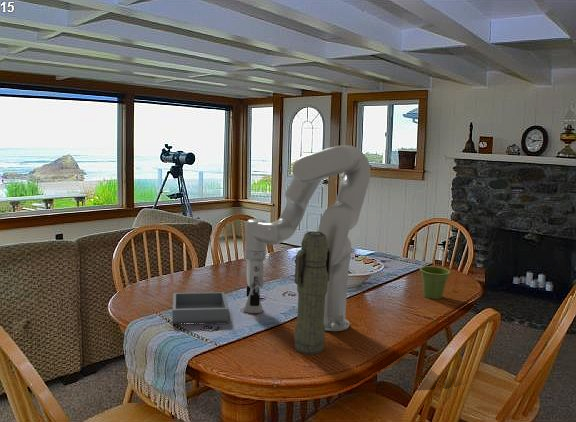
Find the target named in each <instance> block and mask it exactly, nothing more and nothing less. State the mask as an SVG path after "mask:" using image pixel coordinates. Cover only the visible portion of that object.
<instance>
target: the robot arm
mask: <svg viewBox="0 0 576 422" xmlns="http://www.w3.org/2000/svg"><path fill="white" fill-rule="evenodd" d="M340 174H343V179H342V181H341V184H340V186H339V190H338V193H337V197H336V199H335V202H334V203H333V204H331V205H330V206H328V207H327V208H326V209H325V210H324V212H323V214H322V216H321V218H320V221H319V225H318V228H317V231H316V232H322V233H323V234H325V235H326V239H327V243H328V248H330V250H331V268H330V279H329V281H328V285H327V293H326V295H325V308H324V326H325V332H327V331H328V332H341V331H344V330H347V329H349V327H350V321H349V320H348V319H346V310H347V309H346V308H347V297H348V281H349V269H350V263H351V262H350V261H351V256H352V242H351V240H350V238H349V237H348V236H349V233H350V230H352V229H354V228H355V227H356V226H357V224H358V222H359V218H360V214H361V211H362V208H363V204H364V203H365V198H366V194H367V191H368V188H369V185H370V184H369V183H370V179H371V166H370V163H369V161H368V157H366V155H365V154H364V153H363V152H362V151H361V150H360V149H359V148H357V147H355V146H353V145H347V144H346V145H344V144H343V145H334V146H331V147H327V148H324V149H322V150H319V151H315V152H312V153H309V154H306V155H302V156H300V157H298V158H297V159H295V161H294V163H293V165H292V175H293V178H292V179H291V181H290V183H288V184H289V185H288V186H287V188H286V190H285V193H284V196H285V198H286V204H285V207H284V209H283V211H282V212H281V214H280V216H279V218H278V220H276V221H272V222H268V221H266V220H265V219H262V218H251V219H248V220H247V221H246V223H245V233H244V234H245V236H244V238H245V239H244V253H243V254H244V256H243V258H244V259H245V260H246V285H247V286H246V297H247V298H248V296H249V293H250V288H251V294H250V306H259V301H260V302H261V299H260V297H261V295H260V294H261V292H260V289H263V288H264V261H265V260H266V256H267V245H272V246H275V245H278V244H280V243H283V242H285V241H287V240H289V239H290V238H291V237H293V236H294V234H295V232H296V231H297V229H298V227H299V226H300V224H301V222H302V219H303V217H304V216H305V212H306V211H307V210H306V209H307V207H308V204H309V202H310V200H311V199H312V196H313V195H314V193H315V192H316V190H317V188H318V186H319V185H320V183H321V181H322V180H323V179H325V178H328V177H332V176H337V175H340ZM253 289H254V290H253Z"/></svg>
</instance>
